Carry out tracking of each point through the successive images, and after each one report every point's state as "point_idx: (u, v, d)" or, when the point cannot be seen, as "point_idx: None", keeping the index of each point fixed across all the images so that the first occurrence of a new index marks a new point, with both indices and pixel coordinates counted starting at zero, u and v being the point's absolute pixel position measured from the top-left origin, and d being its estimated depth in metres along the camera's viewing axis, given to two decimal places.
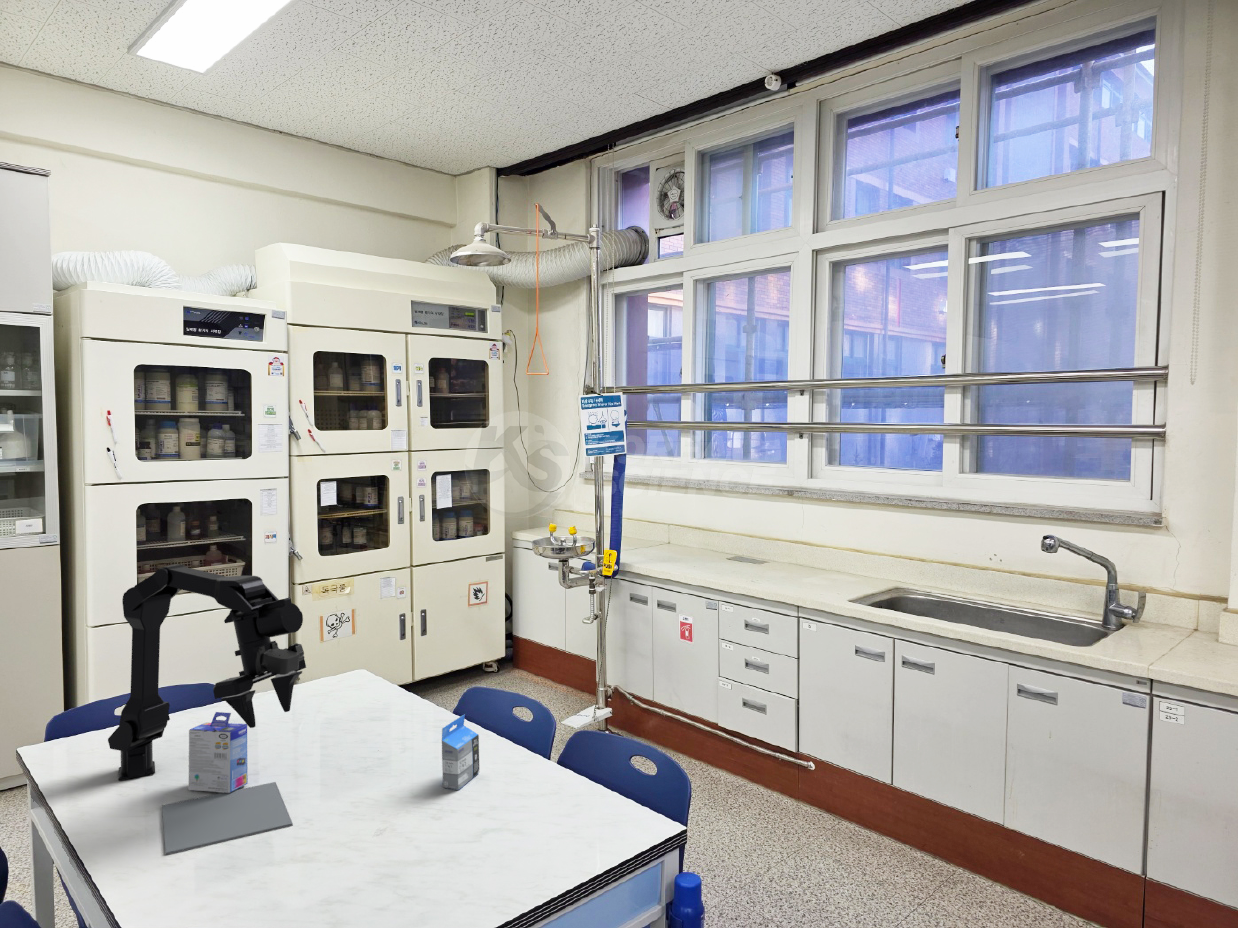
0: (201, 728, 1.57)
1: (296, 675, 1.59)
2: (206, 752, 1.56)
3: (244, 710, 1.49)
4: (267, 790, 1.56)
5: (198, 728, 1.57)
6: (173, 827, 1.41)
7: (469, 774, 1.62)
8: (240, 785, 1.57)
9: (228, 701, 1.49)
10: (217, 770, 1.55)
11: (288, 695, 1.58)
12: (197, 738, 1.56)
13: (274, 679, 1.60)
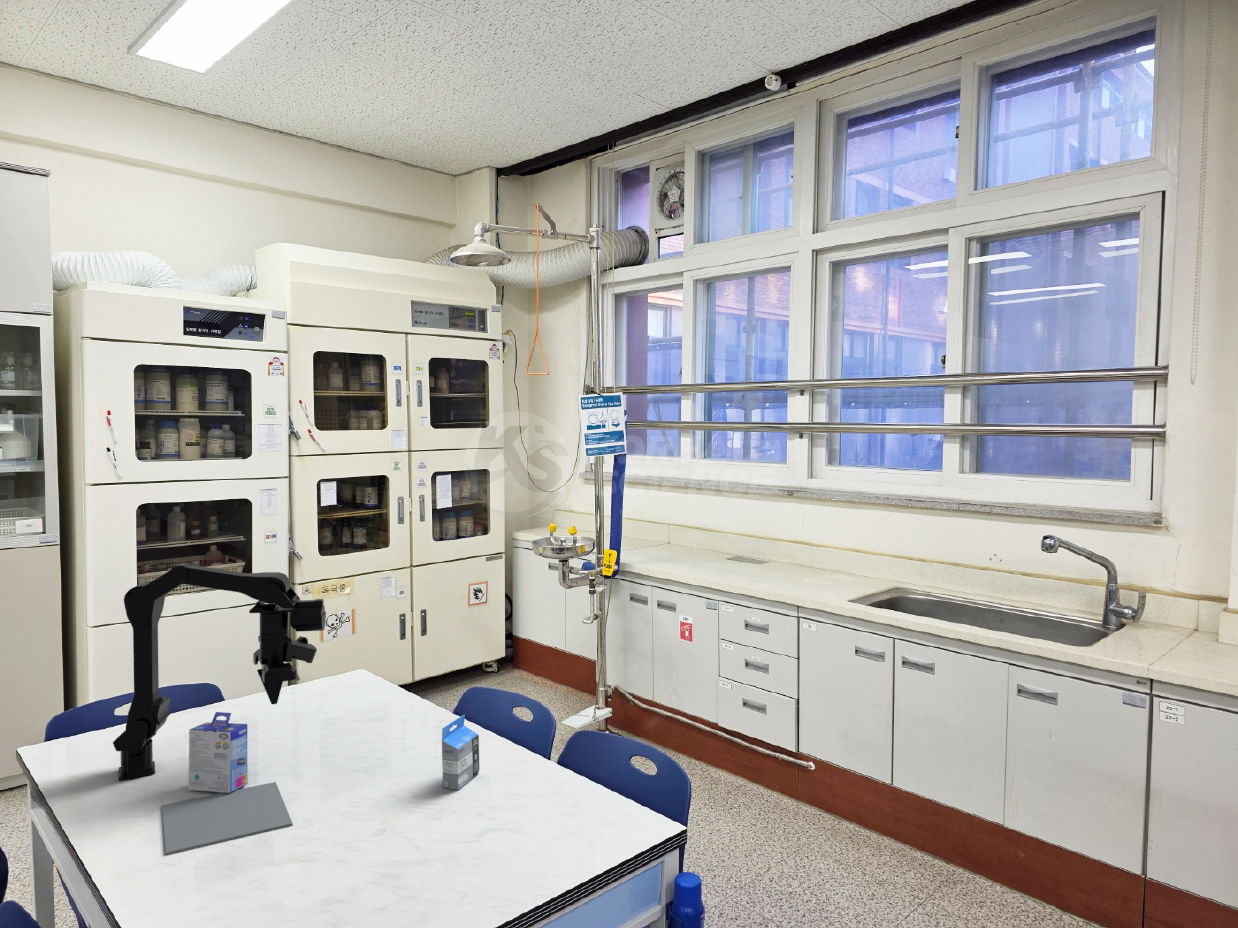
0: (201, 728, 1.57)
1: None
2: (206, 752, 1.56)
3: (275, 688, 1.69)
4: (267, 790, 1.56)
5: (198, 728, 1.57)
6: (173, 827, 1.41)
7: (469, 774, 1.62)
8: (240, 785, 1.57)
9: None
10: (217, 770, 1.55)
11: None
12: (198, 738, 1.56)
13: None
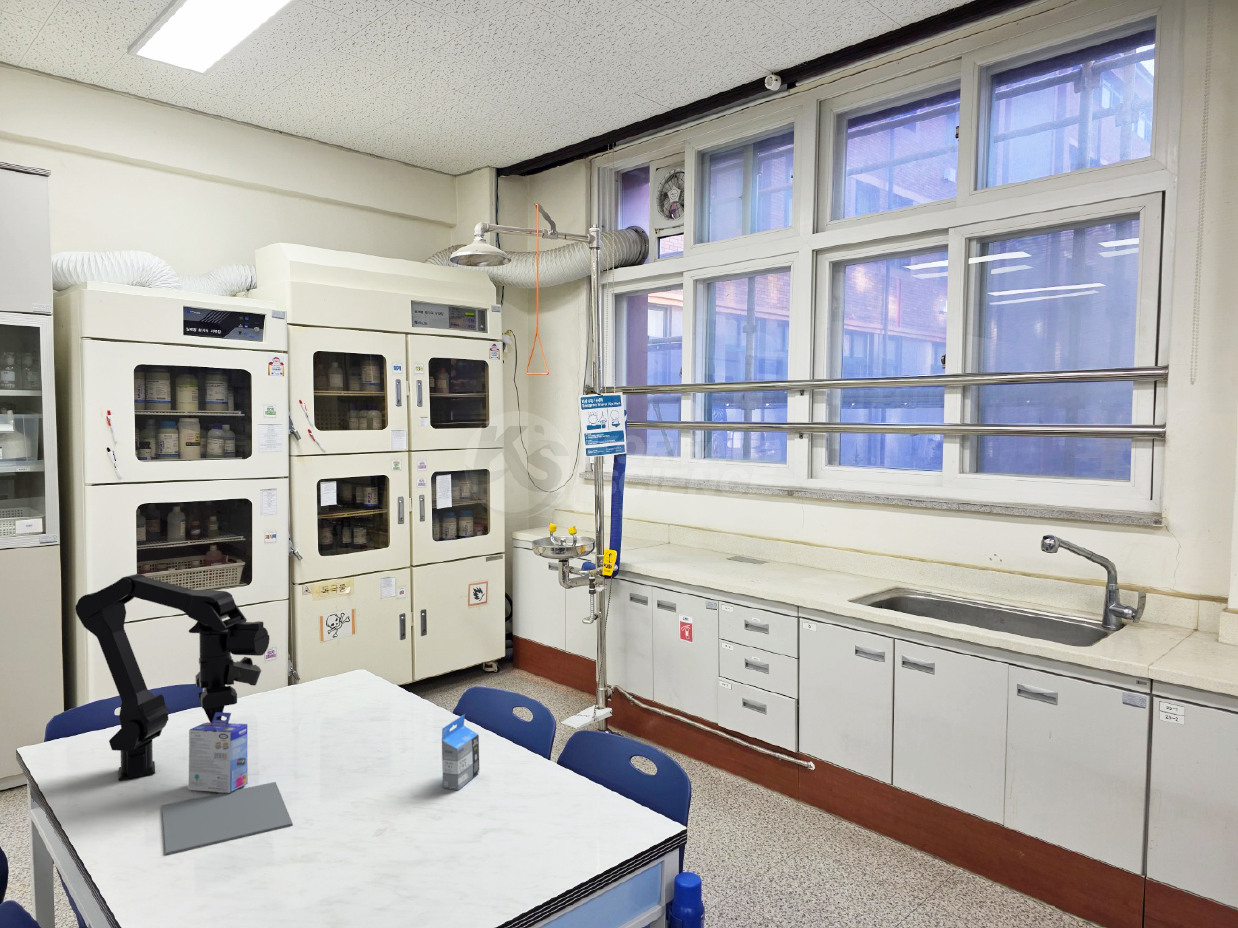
0: (201, 728, 1.57)
1: None
2: (206, 752, 1.56)
3: None
4: (267, 790, 1.56)
5: (198, 728, 1.57)
6: (173, 827, 1.41)
7: (469, 774, 1.62)
8: (240, 785, 1.57)
9: None
10: (217, 770, 1.55)
11: None
12: (198, 738, 1.56)
13: None
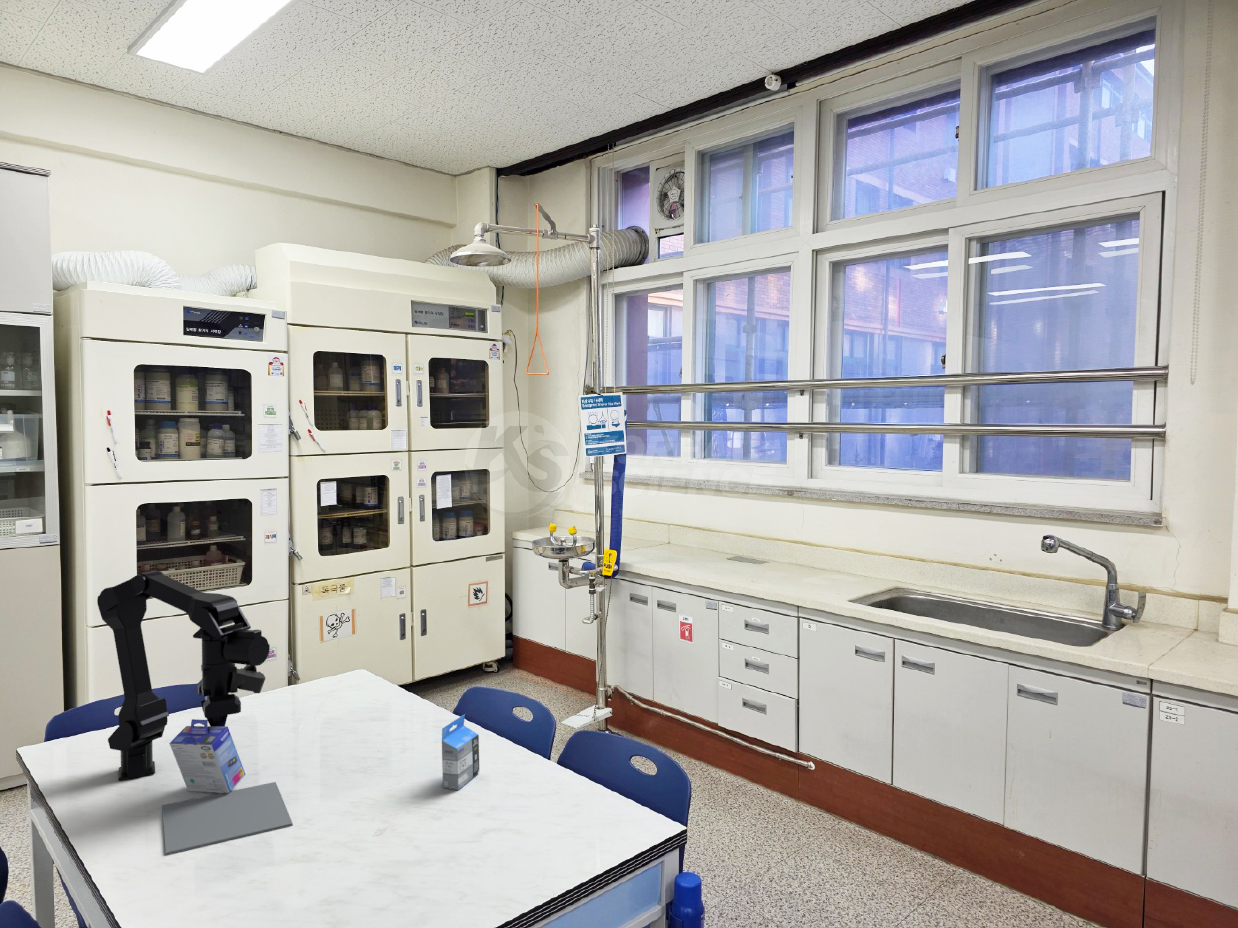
0: (181, 740, 1.52)
1: None
2: (194, 761, 1.53)
3: (219, 721, 1.57)
4: (267, 790, 1.56)
5: (178, 740, 1.52)
6: (173, 827, 1.41)
7: (469, 774, 1.62)
8: (238, 780, 1.57)
9: None
10: (210, 775, 1.54)
11: None
12: (181, 750, 1.52)
13: None
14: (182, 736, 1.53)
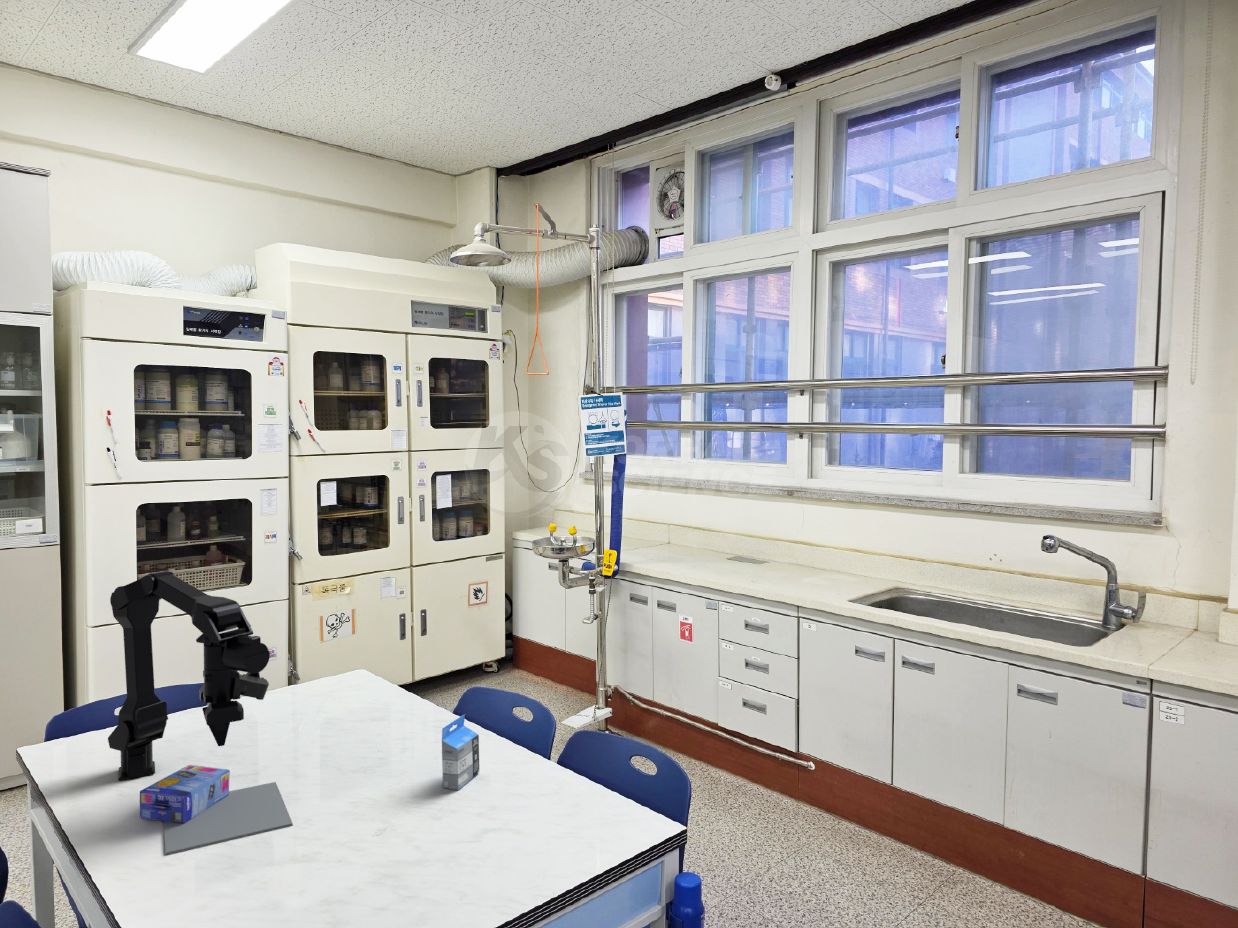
0: (149, 815, 1.44)
1: None
2: None
3: (222, 729, 1.53)
4: (267, 790, 1.56)
5: (146, 815, 1.44)
6: (173, 827, 1.41)
7: (469, 774, 1.62)
8: (228, 781, 1.54)
9: None
10: None
11: None
12: None
13: None
14: (146, 809, 1.44)
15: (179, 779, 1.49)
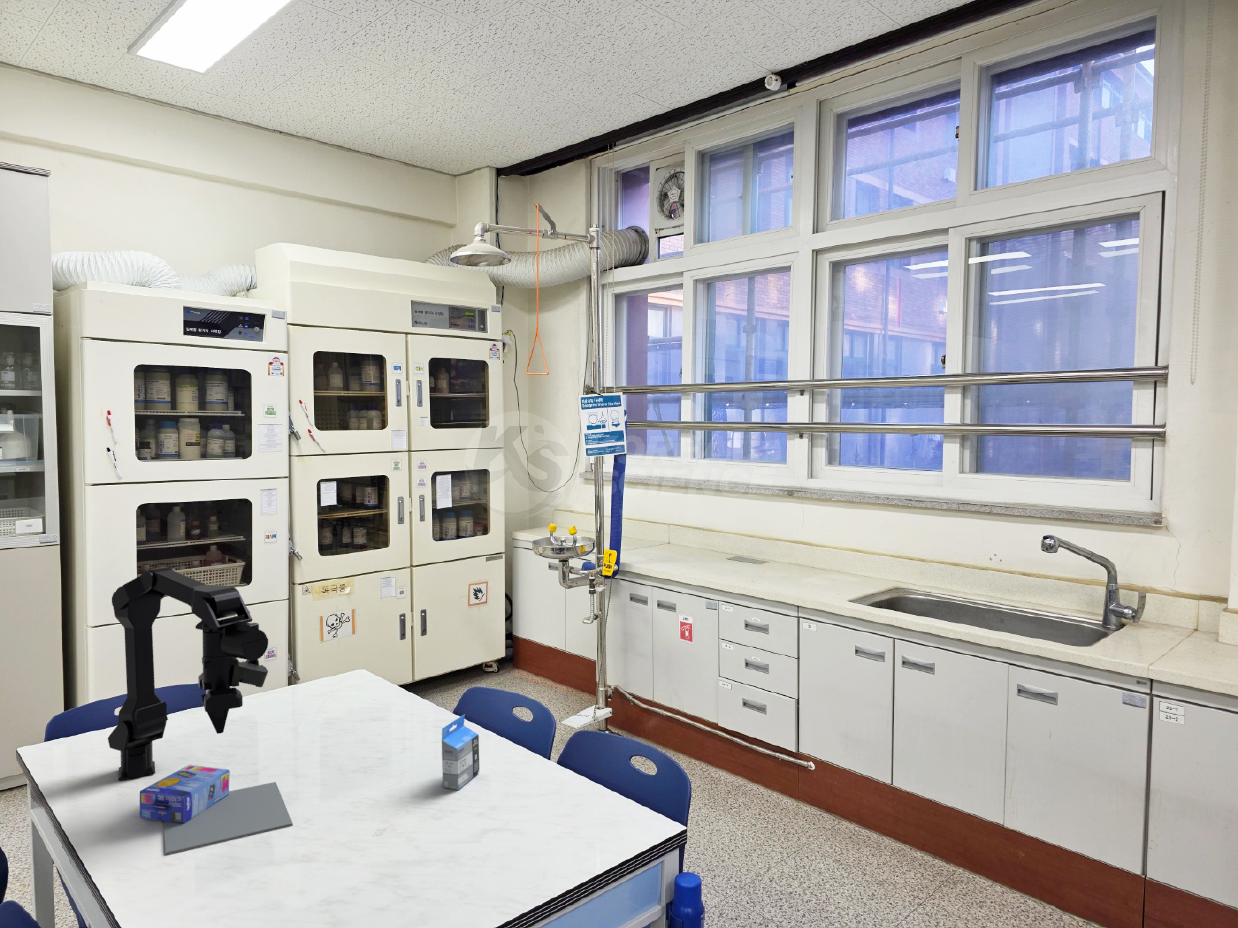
0: (149, 815, 1.44)
1: None
2: None
3: (220, 716, 1.52)
4: (267, 790, 1.56)
5: (146, 815, 1.44)
6: (173, 827, 1.41)
7: (469, 774, 1.62)
8: (228, 781, 1.54)
9: None
10: None
11: None
12: None
13: None
14: (146, 809, 1.44)
15: (179, 779, 1.49)
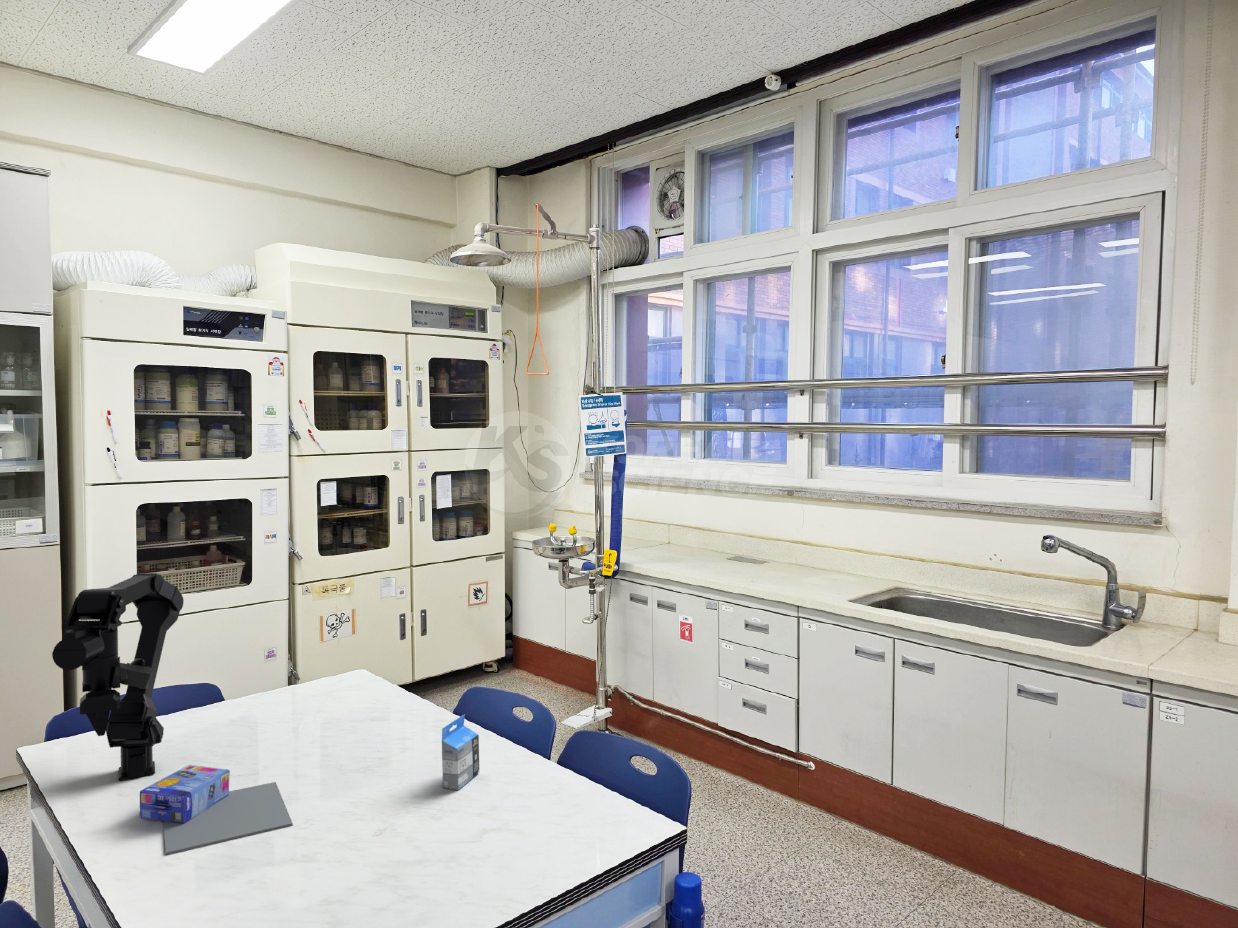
0: (149, 815, 1.44)
1: None
2: None
3: (101, 718, 1.50)
4: (267, 790, 1.56)
5: (146, 815, 1.44)
6: (173, 827, 1.41)
7: (469, 774, 1.62)
8: (228, 781, 1.54)
9: None
10: None
11: None
12: None
13: None
14: (146, 809, 1.44)
15: (179, 779, 1.49)
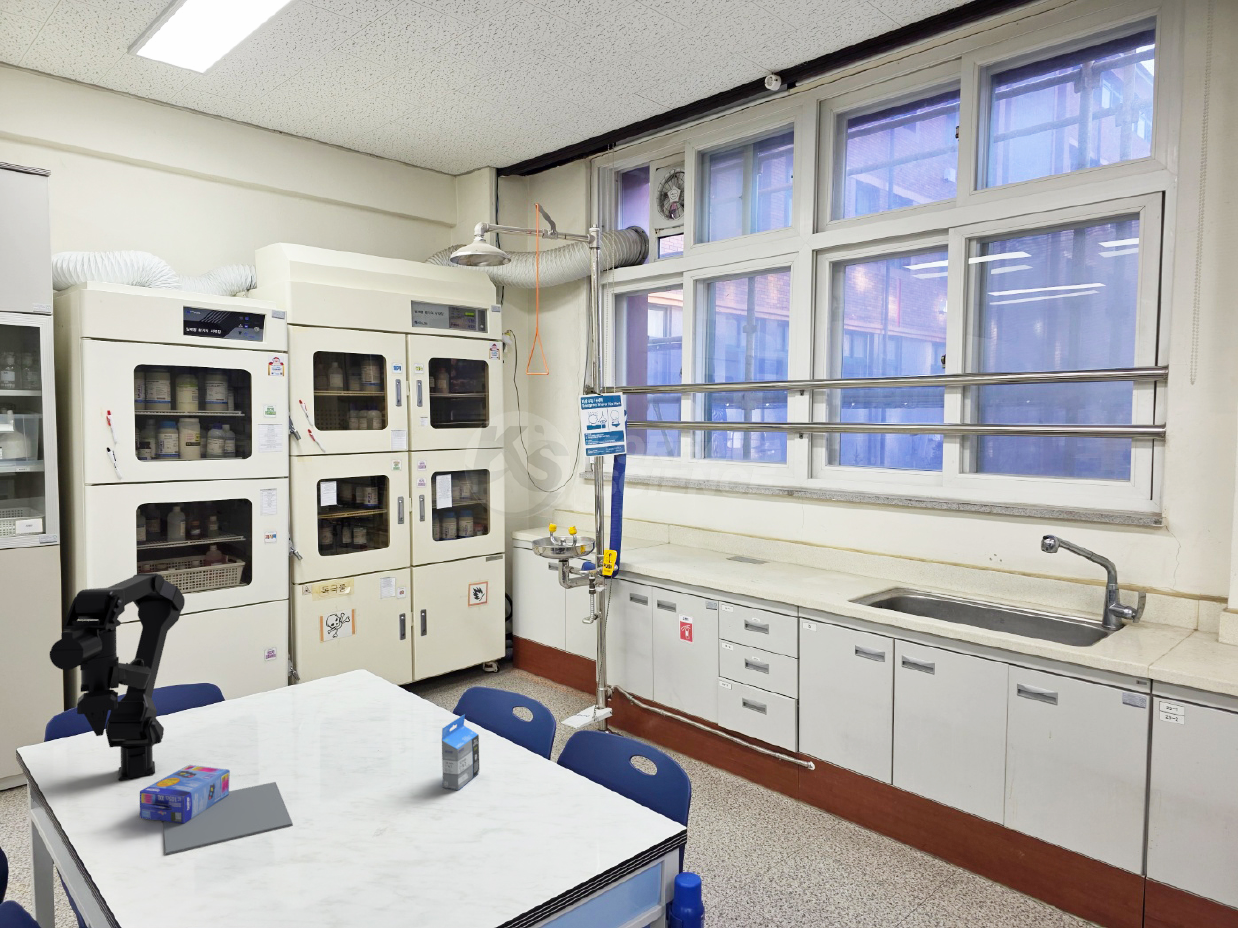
0: (149, 815, 1.44)
1: None
2: None
3: (99, 718, 1.50)
4: (267, 790, 1.56)
5: (146, 815, 1.44)
6: (173, 827, 1.41)
7: (469, 774, 1.62)
8: (228, 781, 1.54)
9: None
10: None
11: None
12: None
13: None
14: (146, 809, 1.44)
15: (179, 779, 1.49)
